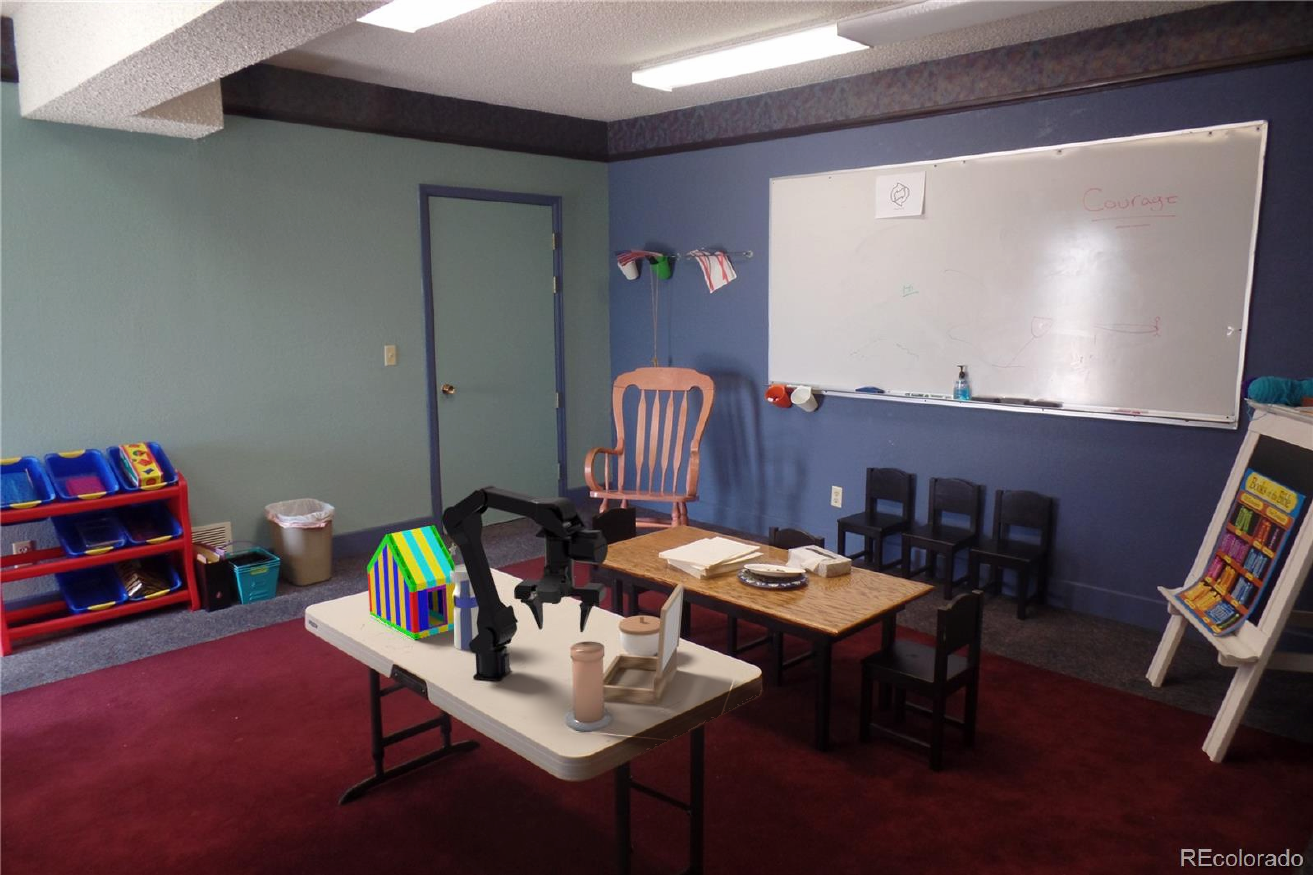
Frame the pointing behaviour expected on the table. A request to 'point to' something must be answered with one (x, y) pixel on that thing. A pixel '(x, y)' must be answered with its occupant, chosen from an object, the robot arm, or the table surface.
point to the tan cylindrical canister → (588, 681)
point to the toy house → (412, 583)
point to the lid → (669, 628)
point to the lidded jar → (640, 635)
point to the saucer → (587, 726)
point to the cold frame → (637, 679)
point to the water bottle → (463, 607)
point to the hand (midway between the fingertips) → (561, 630)
